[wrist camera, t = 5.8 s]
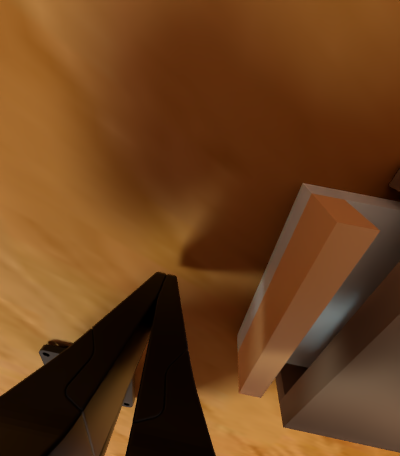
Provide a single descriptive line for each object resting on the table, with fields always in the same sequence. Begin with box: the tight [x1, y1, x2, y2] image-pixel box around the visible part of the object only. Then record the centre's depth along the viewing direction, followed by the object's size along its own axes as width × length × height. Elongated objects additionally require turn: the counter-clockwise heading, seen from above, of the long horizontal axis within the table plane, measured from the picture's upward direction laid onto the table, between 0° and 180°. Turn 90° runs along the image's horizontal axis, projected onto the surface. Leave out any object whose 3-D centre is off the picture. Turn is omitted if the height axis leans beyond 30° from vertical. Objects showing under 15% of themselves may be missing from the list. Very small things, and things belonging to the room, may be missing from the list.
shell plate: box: [237, 183, 400, 398], centre depth 8 cm, size 9×8×3 cm
